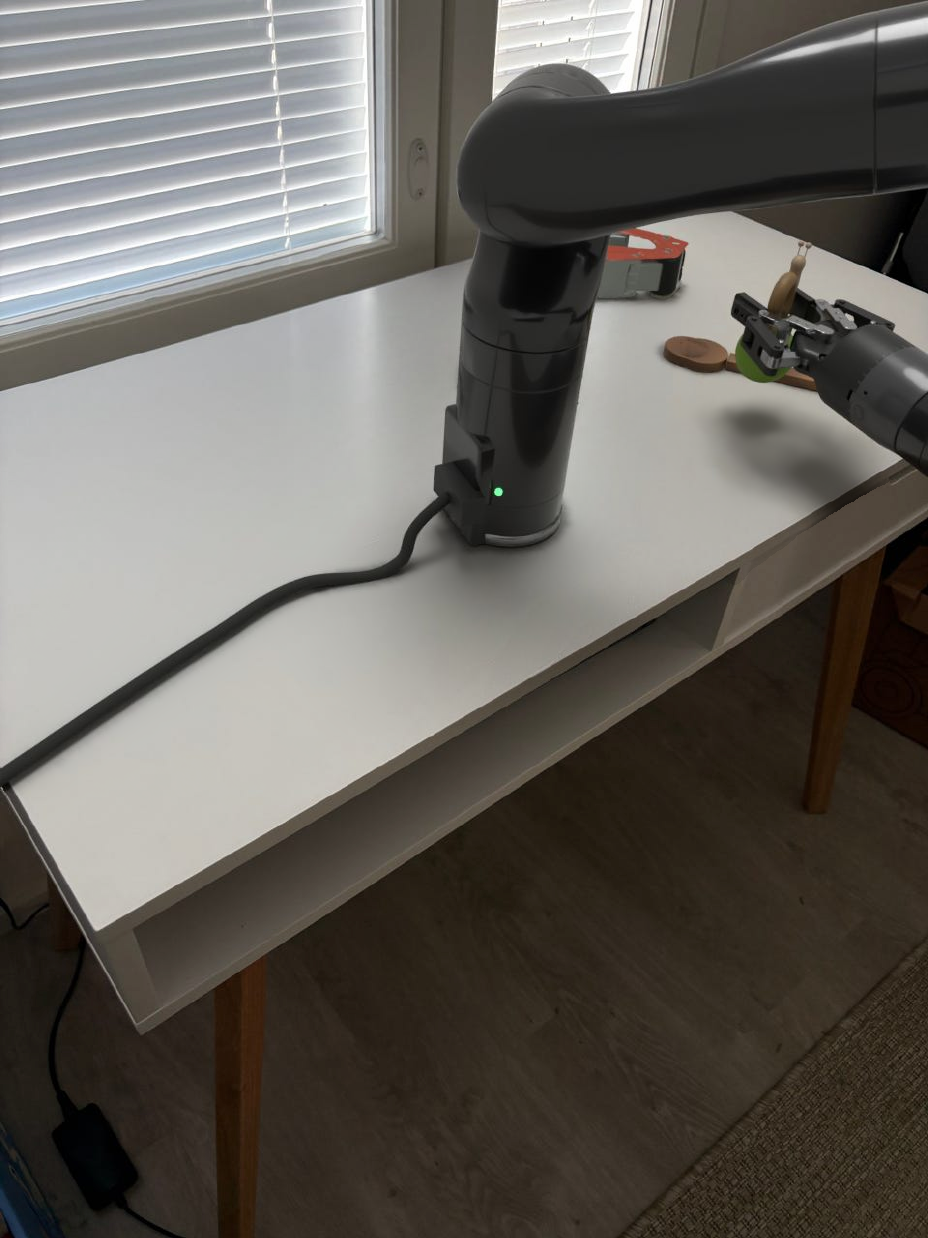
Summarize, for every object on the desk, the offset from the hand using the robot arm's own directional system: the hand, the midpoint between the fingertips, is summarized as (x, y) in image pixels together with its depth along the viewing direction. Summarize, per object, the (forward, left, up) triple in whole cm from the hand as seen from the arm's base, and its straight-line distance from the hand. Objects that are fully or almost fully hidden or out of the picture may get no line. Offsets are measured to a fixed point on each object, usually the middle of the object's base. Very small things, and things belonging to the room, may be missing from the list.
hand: (759, 298), depth 92 cm
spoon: (+6, +3, -10) cm, 12 cm away
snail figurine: (0, -3, -7) cm, 7 cm away
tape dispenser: (-1, +24, -11) cm, 26 cm away
